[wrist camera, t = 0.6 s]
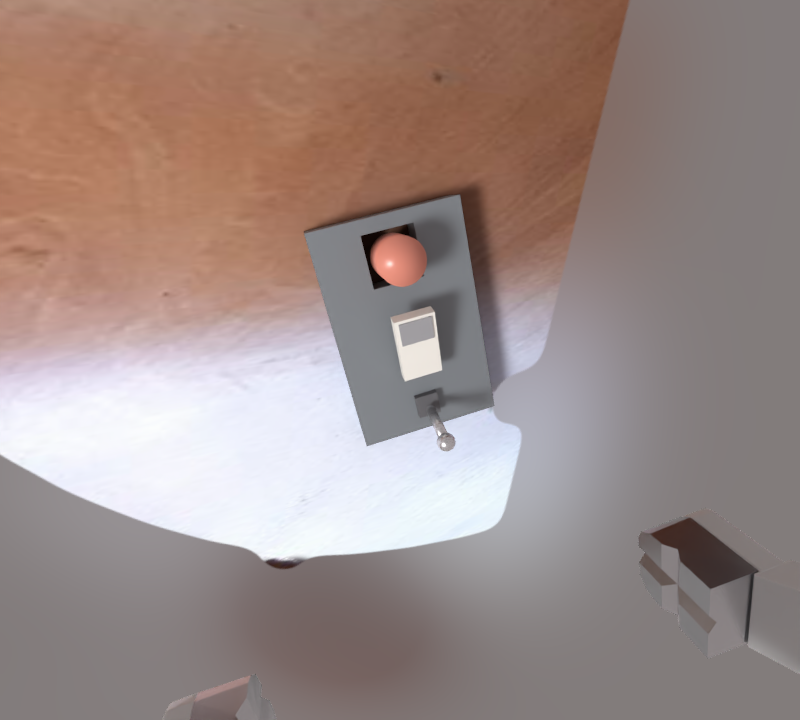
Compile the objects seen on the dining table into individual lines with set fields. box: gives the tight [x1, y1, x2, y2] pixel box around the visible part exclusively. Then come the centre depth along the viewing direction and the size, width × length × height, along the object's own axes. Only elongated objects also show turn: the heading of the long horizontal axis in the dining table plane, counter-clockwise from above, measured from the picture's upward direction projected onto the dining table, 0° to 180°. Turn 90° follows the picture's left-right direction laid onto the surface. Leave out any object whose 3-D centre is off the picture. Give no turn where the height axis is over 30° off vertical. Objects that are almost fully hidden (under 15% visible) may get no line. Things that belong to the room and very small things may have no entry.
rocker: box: [390, 306, 442, 381], centre depth 44 cm, size 7×4×1 cm, turn 13°
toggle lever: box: [426, 405, 455, 451], centre depth 45 cm, size 2×2×6 cm
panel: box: [304, 195, 494, 446], centre depth 46 cm, size 23×15×4 cm, turn 13°
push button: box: [370, 232, 427, 287], centre depth 41 cm, size 4×4×4 cm
